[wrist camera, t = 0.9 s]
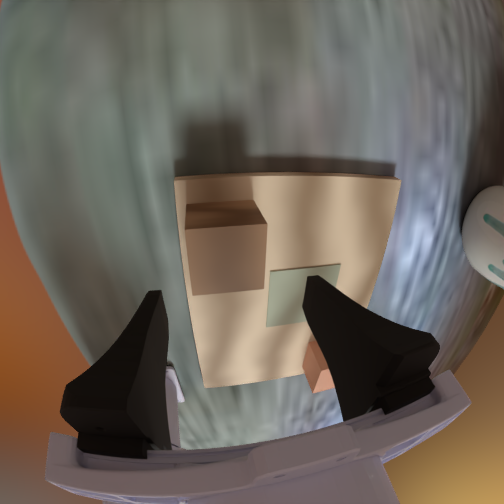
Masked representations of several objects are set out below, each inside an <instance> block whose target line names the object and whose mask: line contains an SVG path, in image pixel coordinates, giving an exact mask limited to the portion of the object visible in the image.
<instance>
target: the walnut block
mask: <svg viewBox="0 0 504 504" xmlns="http://www.w3.org/2000/svg"><path fill="white" fill-rule="evenodd" d="M267 226H268V224H267V222H266V220H265V219H264V217H263V215H262V213H261V212H260V210H259V208H258V207H257V205H256V203H255V201H254V200H241V201H223V202H208V203H194V204H186V215H185V239H186V248H187V257H188V265H189V273H190V281H191V289H192V296H197V295H209V294H220V293H230V292H241V291H250V290H260V289H264V281H265V264H266V245H267Z"/></svg>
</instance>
